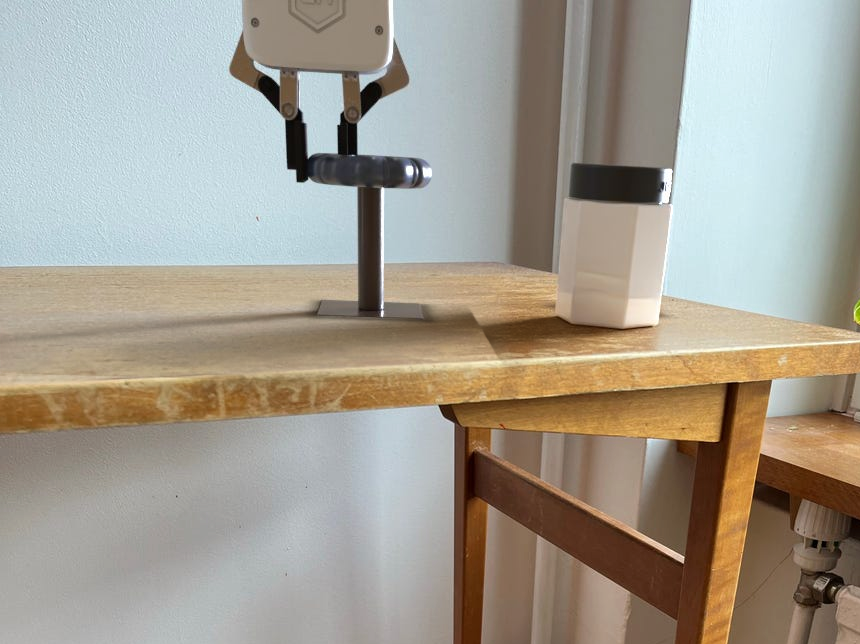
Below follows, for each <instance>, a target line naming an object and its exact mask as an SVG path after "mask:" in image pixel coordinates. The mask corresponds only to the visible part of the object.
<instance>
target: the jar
mask: <svg viewBox="0 0 860 644" xmlns="http://www.w3.org/2000/svg"><path fill="white" fill-rule="evenodd" d="M569 171H570V173H569V185H568V197H567V196H566V197H565V198H564V199H563V207H562V209H563V210H562V220H561V221H562V222H561V233H560V245H559V259H558V270H557V271H558V272H557V283H556V286H557V287H556V297H555V309H554V314H555V316H556V317H559V318H560V319H562V320H564V321H565V322H567V323H569V324H570V325H579V326H588V327H599V328H607V329H617V330H618V329H620V330H627V329H635V328H636V329H637V328H642V327H643V328H644V327H652V326H657V325H658V323H659V320H660V319H659V317H660V310H661V302H662V296H663V295H662V294H663V286H664V278H665V271H666V262H667V254H668V248H669V247H668V245H669V238H670V230H671V223H672V221H671V220H672V215H673V205H672V204H671V203H669V197H670V193H671V189H672V173H673V170H672V168H670V167H659V166H643V165H623V164H604V163H587V162H586V163H585V162H572V163H571V164H570V170H569Z"/></svg>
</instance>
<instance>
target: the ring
mask: <svg viewBox="0 0 860 644" xmlns="http://www.w3.org/2000/svg"><path fill="white" fill-rule="evenodd" d="M306 173H307V175H308V179H309V180H311V181H312V182H313V183H316V184H321V185H327V186H340V187H352V188H357V187H371V188H384V189H402V190H403V189H405V190H406V189H409V190H410V189H415V190H416V189H423V188H425V187H427V186H428V185H429V183H430V182H431V180H432V176H433V170H432V167H431V165H430V164H429V162H427V161H426V160H425V159H423V158H420V157H407V156H395V155H394V156H393V155H374V154H358V156H356V155H339V154H338V153H337V152H336V153H334V152H315V153H312V154H311V155H310V156H308V160H307V162H306Z"/></svg>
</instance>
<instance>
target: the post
mask: <svg viewBox="0 0 860 644" xmlns="http://www.w3.org/2000/svg"><path fill="white" fill-rule="evenodd" d="M356 188H357V189H356V191H357V192H356V193H357V195H356V196H357V197H356V198H357V204H356V205H357V207H356V208H357V300H338V299H337V300H336V299H322V300H321V302H320V305H319V308H318V312H317V314H316V315H317V316H320V317H321V316H322V317H324V316H327V317H349V318H350V317H353V318H381V319H383V318H384V319H405V320H406V319H409V320H424V319H425V318H424V314H423V311H422V308H421V304H420V303H417V302H416V303H415V302H395V301H394V302H393V301H392V302H389V301H385V188H371V187H356Z"/></svg>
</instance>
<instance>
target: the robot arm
mask: <svg viewBox="0 0 860 644" xmlns="http://www.w3.org/2000/svg"><path fill="white" fill-rule="evenodd" d="M393 4H394V3H393V0H241V19H242V30H241V33H240V36H239V39H238V42H237V44H236V48H235V50H234V53H233V55H232V58H231V61H230V62H229V63H230V64H229V65H228V66H229V67H228V71H229V73H230V76H232V77H233V78H234V79H236V80H238V81H239V82H241V83H243V84H244V85H247V86H249V87H250V88H251V89H254V90H256V91H257V92H259V93H261V94H262V95H263V96H264V98H265V99H266V100H267V101H268V102H269V103H270V104H271V105H272V107H273V108H274V109H275V110H276V111H277V112H278V113H279V114H280V116H281V117H282V118H283V119H284V122H285V123H284V124H285V125H284V131H285V151H286V152H285V156H286V169H287V170H289V171H295V181H296V182H295V183H299V184H304V183H306V182H307V181H309V177H308V175H307V173H306V162H307V160H308V158H309V149H308V148H309V147H308V124H307V123H306V122H305V121H304V112H303V111H302V109H301V106H300V105H301V104H300V102H301V73H302V72H304V73H320V74H321V73H322V74H335V75H336V74H338V75H341V82H342V83H341V84H342V98H343V99H342V102H343V111H341V112H340V113H339V124H337V125H336V131H337V132H336V133H337V137H336V138H337V139H336V140H337V154H339V155H356V156H358V155H359V148H358V147H359V144H358V133H359V132H358V124H359V123H360V121H361V120H362V119H363V118H364V117H365V116H366V115H367V114H368V113H369V112H370V111H371V109H373V108H374V106H375V105H376V104H377V102H379V101H380V100H383V99H384V98H386V97H389V96H391V95H393V94H395V93H397V92H399V91H402V90H404V89H405V88H407V87H408V85H409V84H410V76H409V73H408V71H407V67H406V65H405V63H404V60H403V57H402V55H401V52H400V50H399V47H398V45H397V42H396V39H395V37H394V9H393V8H394V6H393ZM255 62H256V63H258V64H259V65H261V66H262V67H265V68H267V69H270V70H276V71H277V70H278V71H279V84H278V83H277V81H276V79H274V78H272V77H271V76H269V75H268V74H266V73H264V72H262V71H261V70H259V69H258V68H257V67H256V66H255ZM385 70H386V72H385V74H384V75H382V76H380V77H379V78H377V79H374V80H372V81H370V82H368V83H367V84H366V85H365V86H364V87H363V88H362V89H361V76H363V75H364V76H370V75H375V74H379V73H381V72H383V71H385Z"/></svg>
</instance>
